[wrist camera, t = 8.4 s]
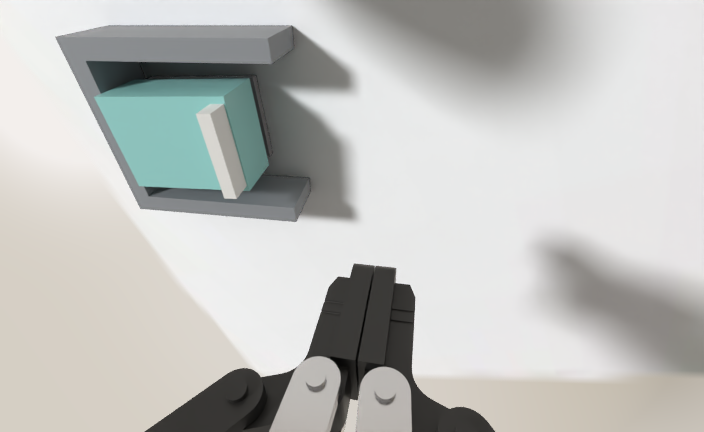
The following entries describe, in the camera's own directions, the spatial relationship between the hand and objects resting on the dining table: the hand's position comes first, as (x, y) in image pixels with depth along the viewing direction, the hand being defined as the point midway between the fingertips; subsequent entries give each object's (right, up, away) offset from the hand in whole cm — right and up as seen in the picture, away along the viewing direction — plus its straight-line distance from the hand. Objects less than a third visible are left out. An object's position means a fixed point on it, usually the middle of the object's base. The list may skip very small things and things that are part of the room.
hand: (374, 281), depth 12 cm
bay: (-10, +9, +12) cm, 18 cm away
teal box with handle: (-11, +10, +12) cm, 19 cm away
